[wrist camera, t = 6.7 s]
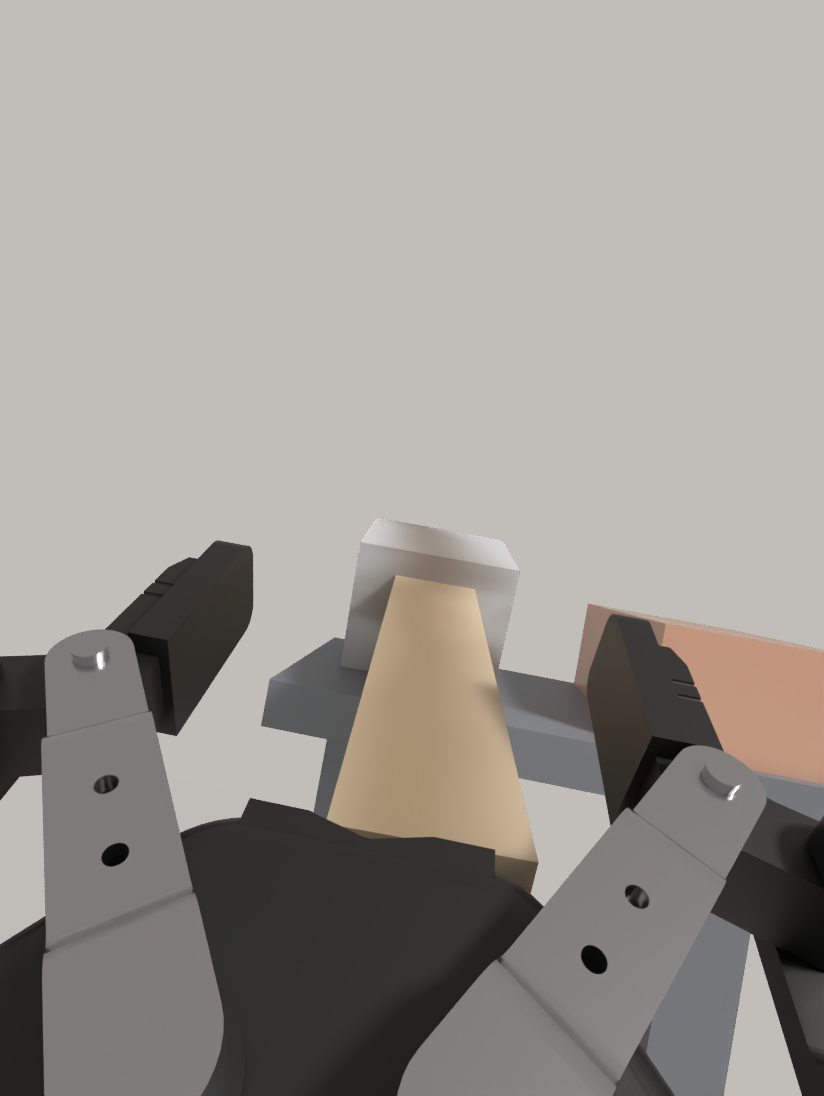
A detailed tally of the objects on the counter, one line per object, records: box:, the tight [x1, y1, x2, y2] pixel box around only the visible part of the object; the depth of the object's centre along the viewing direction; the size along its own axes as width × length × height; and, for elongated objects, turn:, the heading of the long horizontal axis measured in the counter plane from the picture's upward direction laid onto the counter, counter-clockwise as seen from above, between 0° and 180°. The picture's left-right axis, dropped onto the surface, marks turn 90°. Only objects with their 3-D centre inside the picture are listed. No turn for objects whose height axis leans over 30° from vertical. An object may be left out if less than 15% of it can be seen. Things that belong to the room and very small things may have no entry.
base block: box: [574, 604, 824, 784], centre depth 23 cm, size 7×10×4 cm
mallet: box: [327, 518, 538, 893], centre depth 18 cm, size 6×20×5 cm, turn 0°
